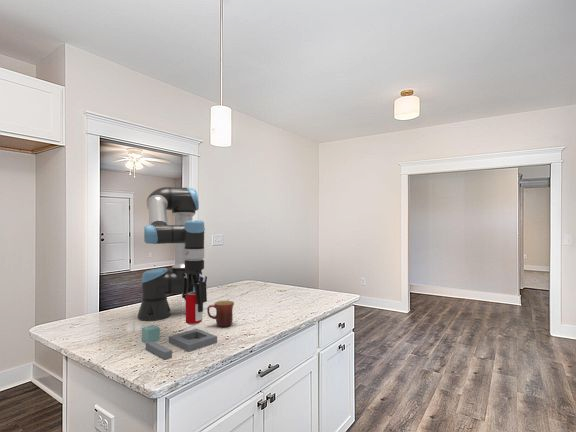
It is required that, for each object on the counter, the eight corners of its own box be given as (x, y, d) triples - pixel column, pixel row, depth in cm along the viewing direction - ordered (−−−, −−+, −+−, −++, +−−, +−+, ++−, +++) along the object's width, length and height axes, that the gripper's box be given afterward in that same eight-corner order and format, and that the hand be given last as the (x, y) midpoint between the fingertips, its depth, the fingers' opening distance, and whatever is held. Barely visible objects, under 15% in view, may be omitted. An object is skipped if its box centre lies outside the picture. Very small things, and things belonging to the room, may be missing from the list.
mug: (232, 321, 159) (233, 300, 160) (235, 327, 151) (235, 304, 151) (206, 323, 156) (206, 301, 156) (207, 329, 148) (207, 306, 148)
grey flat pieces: (145, 349, 125) (145, 342, 125) (196, 334, 142) (196, 328, 142) (164, 359, 116) (164, 352, 116) (217, 342, 133) (217, 336, 133)
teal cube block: (141, 340, 135) (141, 327, 135) (153, 337, 139) (153, 324, 139) (147, 343, 132) (147, 330, 132) (159, 340, 135) (159, 327, 135)
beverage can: (203, 320, 136) (203, 290, 136) (200, 325, 130) (200, 294, 130) (187, 321, 136) (188, 291, 136) (183, 325, 129) (183, 294, 130)
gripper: (172, 258, 137) (172, 315, 136) (200, 262, 124) (199, 325, 124) (189, 257, 142) (188, 312, 142) (217, 260, 130) (216, 321, 129)
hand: (193, 318), depth 133 cm, fingers closed on beverage can, 6 cm apart
